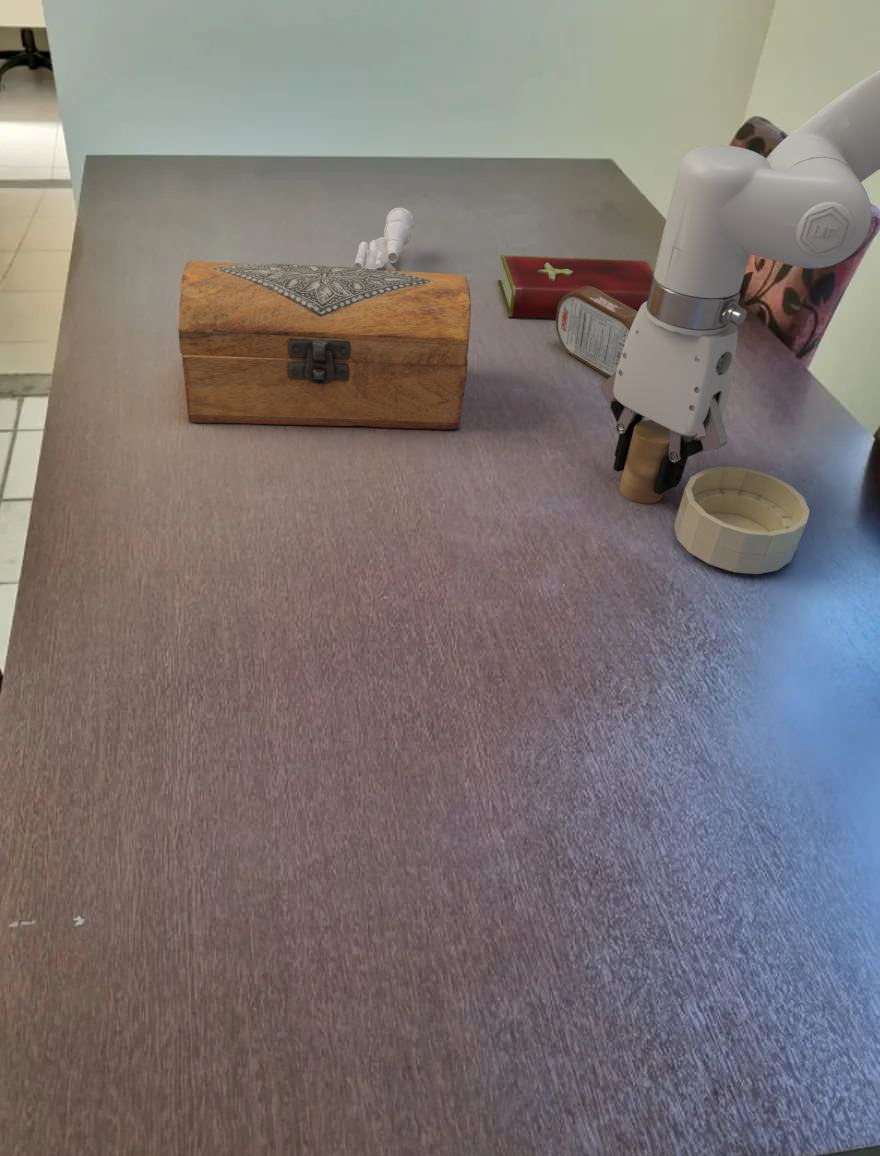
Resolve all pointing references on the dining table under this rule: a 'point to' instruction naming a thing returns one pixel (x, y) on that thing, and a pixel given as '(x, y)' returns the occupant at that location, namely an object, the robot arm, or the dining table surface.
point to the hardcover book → (569, 282)
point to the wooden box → (323, 345)
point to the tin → (594, 328)
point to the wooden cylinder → (644, 462)
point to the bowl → (741, 519)
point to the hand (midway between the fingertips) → (644, 476)
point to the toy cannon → (387, 242)
